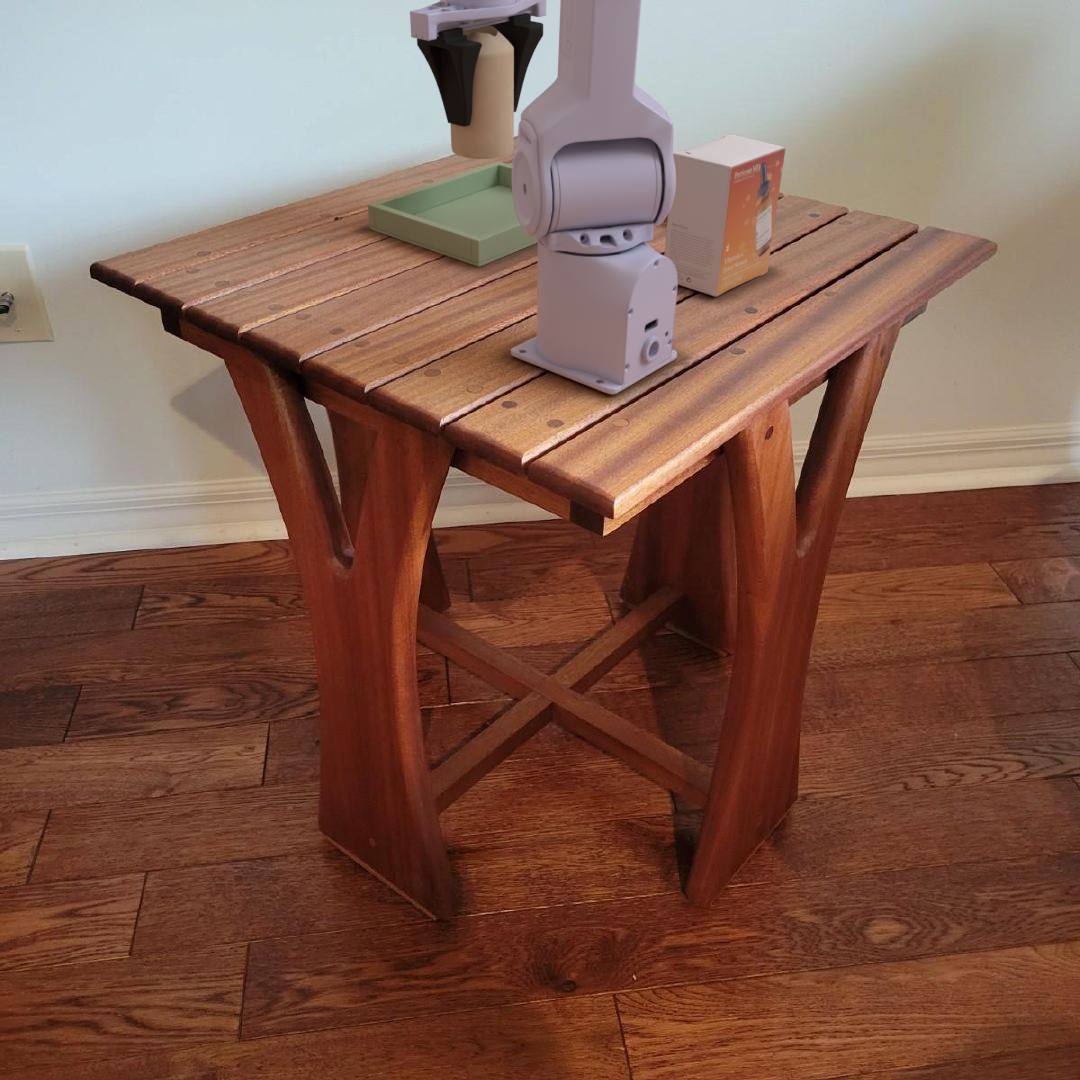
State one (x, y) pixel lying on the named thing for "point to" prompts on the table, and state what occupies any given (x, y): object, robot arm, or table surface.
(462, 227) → the green tray
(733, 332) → the table surface
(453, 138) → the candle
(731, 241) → the small box
